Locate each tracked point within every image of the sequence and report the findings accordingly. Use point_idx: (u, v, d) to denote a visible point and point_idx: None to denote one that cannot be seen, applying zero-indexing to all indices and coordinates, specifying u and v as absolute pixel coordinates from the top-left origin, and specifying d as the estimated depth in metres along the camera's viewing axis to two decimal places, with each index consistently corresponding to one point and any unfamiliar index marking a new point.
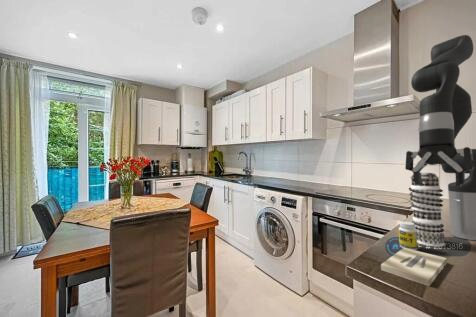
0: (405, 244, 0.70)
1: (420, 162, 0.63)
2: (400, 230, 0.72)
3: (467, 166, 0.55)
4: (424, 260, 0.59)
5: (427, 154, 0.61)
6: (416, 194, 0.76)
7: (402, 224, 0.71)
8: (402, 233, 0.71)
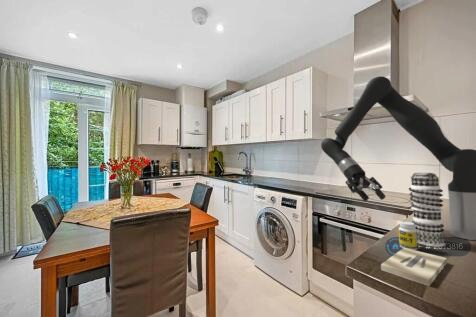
0: (405, 244, 0.70)
1: None
2: (400, 230, 0.72)
3: None
4: (424, 260, 0.59)
5: None
6: (416, 194, 0.76)
7: (402, 224, 0.71)
8: (402, 233, 0.71)
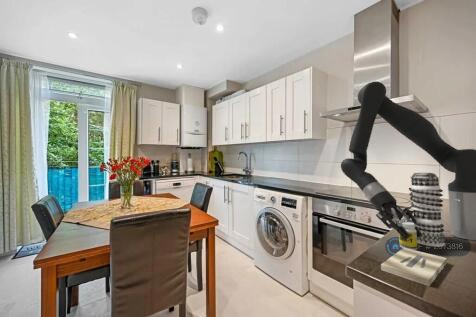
0: (405, 244, 0.70)
1: None
2: None
3: None
4: (424, 260, 0.59)
5: None
6: (416, 194, 0.76)
7: (402, 224, 0.71)
8: None
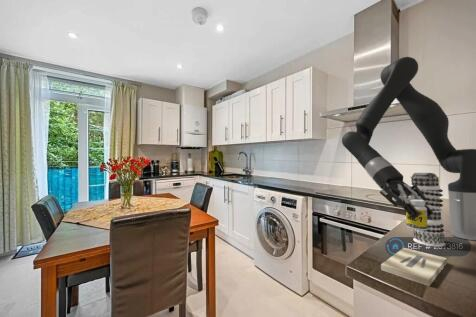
0: (413, 224, 0.61)
1: None
2: None
3: None
4: (424, 260, 0.59)
5: None
6: None
7: (410, 201, 0.62)
8: None
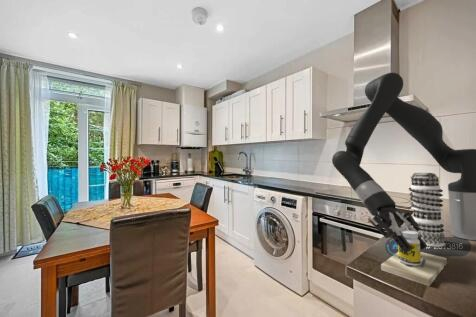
0: (405, 258, 0.56)
1: None
2: None
3: None
4: (424, 260, 0.59)
5: None
6: (416, 194, 0.76)
7: (402, 233, 0.57)
8: None
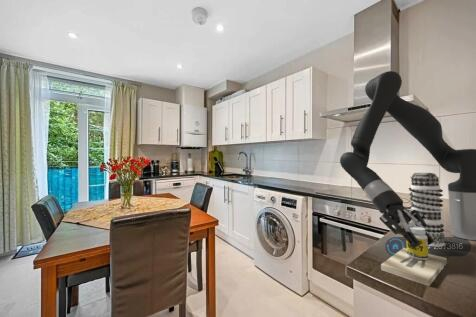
0: (414, 253, 0.60)
1: None
2: None
3: None
4: (424, 260, 0.59)
5: None
6: (416, 194, 0.76)
7: (410, 229, 0.61)
8: None
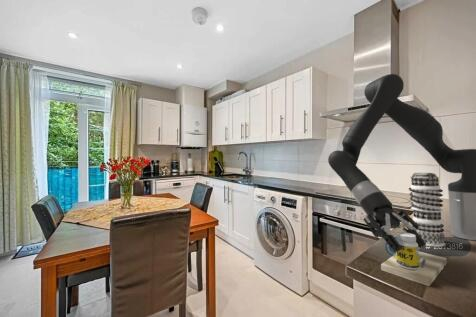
0: (403, 262, 0.55)
1: None
2: None
3: None
4: (424, 260, 0.59)
5: None
6: (416, 194, 0.76)
7: (400, 236, 0.56)
8: None
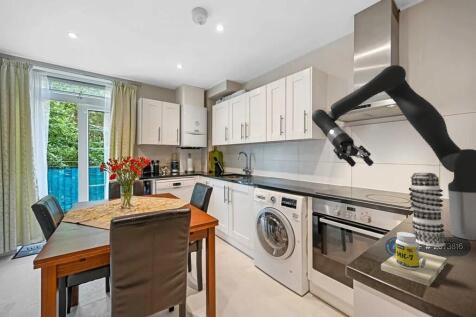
0: (403, 262, 0.55)
1: None
2: (397, 243, 0.56)
3: None
4: (424, 260, 0.59)
5: None
6: (416, 194, 0.76)
7: (400, 236, 0.56)
8: (399, 247, 0.56)
